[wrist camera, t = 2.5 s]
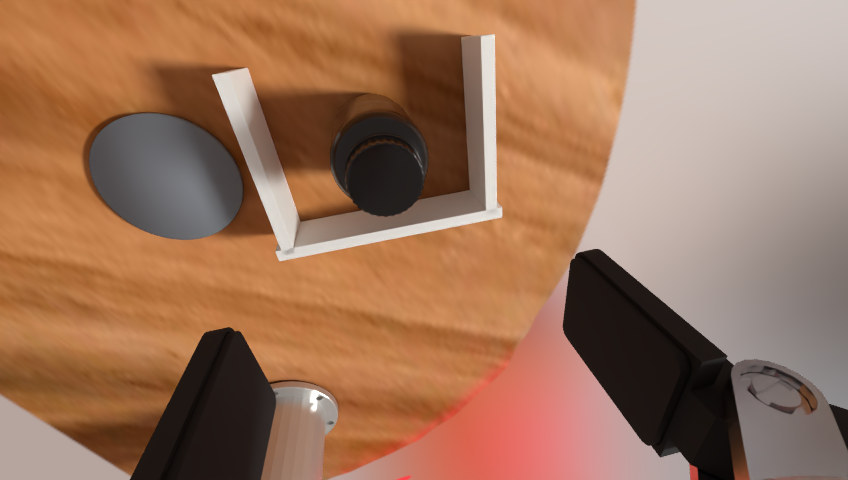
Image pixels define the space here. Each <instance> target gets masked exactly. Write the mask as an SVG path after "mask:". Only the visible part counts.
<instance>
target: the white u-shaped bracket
mask: <svg viewBox="0 0 848 480" xmlns="http://www.w3.org/2000/svg"><path fill="white" fill-rule="evenodd" d="M461 44H462V62H463V80H464V98H465V116H466V134H467V151H468V169H469V187H470V190H467V191H462V192H457V193H451V194H446V195H441V196H435V197H430V198H425V199H419V200H417V201H416V202H415V203H414V204H413V206H412V207H410V208H408V210H407V211H404V212H402V213H401V214H396V215H394V216H388V217H384V216H380V217H378V216H376V215H371V214H369V213H366V212H364V211H363V210H361V211H355V212H350V213H345V214H339V215H334V216H329V217H324V218H318V219H313V220H308V221H302V222H301V221H300V218H299V216H298V213H297V210H296V207H295V204H294V201H293V198H292V195H291V192H290V189H289V187H288V184H287V181H286V178H285V175H284V172H283V169H282V166H281V163H280V160H279V158H278V155H277V152H276V149H275V146H274V143H273V140H272V137H271V134H270V131H269V129H268V126H267V123H266V120H265V117H264V114H263V111H262V108H261V105H260V102H259V100H258V97H257V94H256V91H255V88H254V85H253V82H252V79H251V76H250V73H249V71H248V68H242V69H235V70H230V71H226V72H222V73H217V74H213V75H212V77H213V79H214V82H215V85H216V87H217V90H218V92H219V95H220V97H221V100H222V102H223V105H224V107H225V110H226V112H227V115H228V117H229V120H230V122H231V125H232V127H233V130H234V132H235V135H236V137H237V140H238V142H239V145H240V148H241V150H242V153H243V155H244V158H245V160H246V163H247V165H248V168H249V170H250V173H251V175H252V178H253V180H254V183H255V185H256V188H257V190H258V193H259V195H260V198H261V200H262V203H263V205H264V208H265V210H266V213H267V216H268V218H269V221H270V223H271V226H272V228H273V231H274V233H275V236H276V238H277V241H278V245H277V248H276V251H275V252H276V255H277V257H278V259H279V261H283V260H288V259H293V258H298V257H303V256H309V255H314V254H319V253H324V252H329V251H334V250H339V249H344V248H349V247H354V246H359V245H364V244H369V243H374V242H379V241H384V240H390V239H395V238H400V237H405V236H410V235H415V234H420V233H425V232H430V231H435V230H440V229H445V228H450V227H455V226H460V225H466V224H471V223H476V222H481V221H486V220H491V219H496V218H501V217H502V207H501V206H500V204H499V203H498V202H497V181H496V99H495V34H488V35H472V36H465V37H461Z"/></svg>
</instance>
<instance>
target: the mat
mask: <svg viewBox="0 0 848 480" xmlns="http://www.w3.org/2000/svg"><path fill="white" fill-rule="evenodd" d="M89 166H90V172H91V176H92V179H93V182H94V184H95V186H96V188H97V190H98V192H99V193H100V195H101V196H102V198H103V199H104V200H105V202H106V203H107V204H108V205H109V206H110V207H111V208H112V209H113V210H114V211H115V212H116V213H117V214H118V215H119V216H120V217H122V218H123V219H125V220H126V221H127V222H129V223H131V224H132V225H134V226H136V227H137V228H140V229H142V230H144V231H146V232H149V233H151V234H154V235H157V236H161V237H165V238H171V239H180V240H191V239H199V238H203V237H207V236H210V235H213V234H215V233H217V232H219V231H221V230H222V229H223V228H225V227H226V226H227V225H228V224H229V223H230V222H231V221H232V220H233V219H234V217H235V216H236V214H237V213H238V211H239V209H240V207H241V204H242V200H243V193H244V190H243V180H242V176H241V173H240V170H239V168H238V166H237V163H236V161H235V160H234V158H233V157H232V155H231V154H230V152H229V151H228V150H227V149H226V147H225V146H224V145H223V144H222V143H221V142H220V141H219V140H218V139H217V138H215V137H214V136H213V135H212V134H210V133H209V132H208V131H206V130H205V129H203V128H201V127H200V126H198V125H196V124H194V123H192V122H190V121H188V120H185V119H182V118H180V117H176V116H172V115H168V114H162V113H137V114H133V115H129V116H125V117H123V118H120V119H118V120H115V121H113V122H112V123H110V124H108V125H107V126H106V127H105V128H103V129H102V130H101V131H100V132H99V134H98V135H97V136H96V138H95V140H94V142H93V144H92V147H91V150H90V156H89Z"/></svg>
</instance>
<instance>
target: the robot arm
mask: <svg viewBox="0 0 848 480" xmlns="http://www.w3.org/2000/svg"><path fill="white" fill-rule="evenodd" d="M563 330H564V333H565V335H566V337H567V339H568V340H569V341H570V343H571V344H572V346H573V347H574V348H575V350H576V351H577V353H578V354H579V355H580V357H581V358H582V360H583V361H584V362H585V364H586V365H587V366H588V368H589V369H590V371H591V372H592V373H593V375H594V376H595V377H596V379H597V380H598V381H599V383H600V384H601V386H602V387H603V388H604V390H605V391H606V393H607V394H608V395H609V396H610V398H611V399H612V401H613V402H614V403H615V405H616V406H617V408H618V409H619V410H620V412H621V413H622V415H623V416H624V417H625V419H626V420H627V421H628V423H629V424H630V425H631V427H632V428H633V430H634V431H635V432H636V434H637V435H638V436H639V438H640V439H641V440H642V442H644V443H645V444H646V445H648V446H650V445H651V446H652V447H653V449H654V450H655V451H656V453H657V454H658V455H659V456H660V457H663V456H667V455H671V454H674V453H678V452H681V453H682V455H683V456H684V457H685V458H686V460H687V461H688V462H689V465H690V480H848V410H846V409H844V408H840V407H837V406H834V405H831V404H828V402H827V400H826V399H825V397H824V396H823V394H822V392H821V391H820V390H819V389H817V387H816V386H815V385H813V384H812V383H811V382H810V381H809V380H807V379H806V378H804V377H803V376H801V375H799V374H798V373H796V372H794V371H792V370H790V369H788V368H786V367H784V366H781V365H778V364H775V363H772V362H769V361H762V360H757V359H756V360H755V359H754V360H744V361H741V362H738V363H736V364H735V365H733V364H732V363H730V362H729V361H728V360H727V359H726V358H727V355H726V354H724V353H723V352H722V351H721V350H720V349H719V348H717V347H716V346H715V345H714V344H713V343H711V342H710V341H709V340H708V339H706V338H705V337H704V336H703V335H702V334H701V333H699V332H698V331H697V330H696V329H695V328H693V327H692V326H691V325H690V324H689V323H687V322H686V321H685V320H684V319H683V318H681V317H680V316H679V315H678V314H677V313H675V312H674V311H673V310H672V309H671V308H670V307H668V306H667V305H666V304H665V303H664V302H662V301H661V300H660V299H659V298H658V297H656V296H655V295H654V294H653V293H651V292H650V291H649V290H648V289H647V288H645V287H644V286H643V285H642V284H641V283H640V282H638V281H637V280H636V279H635V278H634V277H632V276H631V275H630V274H629V273H628V272H626V271H625V270H624V269H623V268H622V267H621V266H619V265H618V264H617V263H616V262H615V261H613V260H612V259H611V258H610V257H609V256H607V255H606V254H605V253H604V252H603V251H601V250H599V249H593V250H589V251H584V252H579V253H577V254H576V256H575V259H572V260H571V263H570V270H569V279H568V286H567V295H566V304H565V311H564V320H563ZM337 419H338V404H337V402H336V399H335V398H334V397H333V396H332V394H330V393H329V392H328V391H327V390H325V389H323V388H321V387H319V386H317V385H314V384H311V383H305V382H296V381H288V382H279V383H274V384H269V382H268V380H267V378H266V376H265V375H264V373H263V371H262V369H261V367H260V366H259V364H258V362H257V360H256V358H255V357H254V355H253V353H252V351H251V349H250V348H249V346H248V344H247V342H246V340H245V339H244V337H243V335H242V334H241V332H239V331H234V330H233V329H232V328H230V327H228V328H223V329H218V330H214V331H209V332H206V333H204V335H203V336H202V338H201V340H200V342H199V344H198V346H197V348H196V350H195V352H194V354H193V356H192V358H191V360H190V362H189V364H188V366H187V368H186V370H185V372H184V373H183V375H182V377H181V379H180V381H179V383H178V385H177V387H176V389H175V391H174V393H173V395H172V397H171V399H170V401H169V403H168V405H167V407H166V409H165V411H164V413H163V415H162V417H161V419H160V421H159V423H158V425H157V427H156V429H155V431H154V433H153V435H152V437H151V439H150V441H149V443H148V445H147V447H146V449H145V451H144V453H143V455H142V457H141V459H140V461H139V463H138V465H137V467H136V469H135V471H134V473H133V475H132V477H131V479H130V480H322V471H323V456H324V441H325V435H326V434H327V433H329V432H330V431H331V430H332V428H333V427H334V426H335V424H336V422H337Z"/></svg>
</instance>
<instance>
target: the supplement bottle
mask: <svg viewBox="0 0 848 480" xmlns="http://www.w3.org/2000/svg"><path fill="white" fill-rule="evenodd" d="M428 164H429V154H428V148H427V145H426V142H425V140H424V138H423V136H422V134H421V133H420V131H419V130H418V128H417V127H416V125H415V124H414V123H413V121H412V120H411V119H410V118H409V116H408V115H407V114H406V112H405V111H404V110H403V109H402V108H401V107H400V106H399V105H398V104H397V103H396V102H395V101H393V100H391V99H390V98H388V97H385V96H382V95H378V94H364V95H360V96H358V97H355V98H353V99H352V100H350V101H349V102H347V103H346V104H345V105H344V106H343V107H342V109H341V110H340V111H339V113H338V115H337V117H336V120H335V123H334V128H333V134H332V141H331V149H330V166H331V171H332V174H333V177H334V179H335V181H336V183H337V185H338V186H339V188H340V189H341V190H342V191H343V192H344V193H345V194H346V195H347V196H348V197H349V198H351V199H352V200H353V203H355V204H356V205H357V206H358V208H360V209H362V210H363V211H364V212H366V213H369V214H371V215H376V216H378V217H380V216H384V217H388V216H394V215H396V214H401V213H402V212H404V211H407V210H408V208H410V207H412V206H413V204H414V203H415V202H416V201H417V200H418V197H419V196H420V195H421V191H422V190H423V184H424V181H425V180H424V179H425V177H426V174H427V171H428Z"/></svg>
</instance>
